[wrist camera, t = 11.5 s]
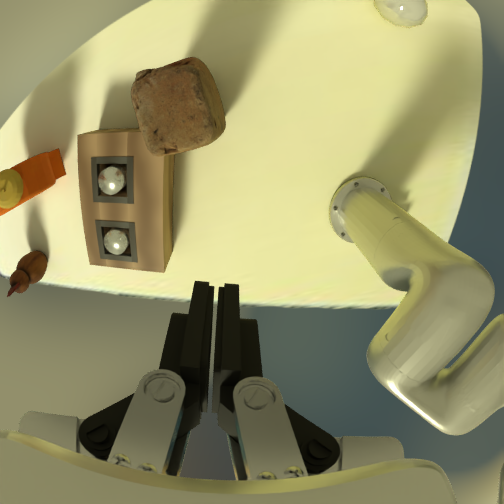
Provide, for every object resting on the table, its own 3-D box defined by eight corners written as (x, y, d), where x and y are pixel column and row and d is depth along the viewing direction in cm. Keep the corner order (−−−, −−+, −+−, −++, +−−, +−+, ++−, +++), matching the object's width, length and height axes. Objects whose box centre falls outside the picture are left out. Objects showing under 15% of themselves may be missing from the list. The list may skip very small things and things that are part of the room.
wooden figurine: (46, 246, 46) (9, 286, 33) (54, 269, 49) (21, 311, 36) (27, 247, 46) (-9, 284, 33) (35, 268, 49) (2, 307, 36)
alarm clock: (29, 195, 40) (-34, 240, 23) (21, 168, 37) (-47, 205, 20) (73, 174, 40) (2, 219, 22) (64, 144, 37) (-13, 175, 19)
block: (229, 131, 39) (223, 147, 22) (182, 143, 39) (141, 170, 22) (214, 67, 34) (195, 32, 16) (167, 80, 34) (113, 62, 17)
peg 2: (138, 215, 44) (124, 232, 38) (139, 236, 46) (127, 255, 40) (118, 214, 44) (102, 231, 38) (120, 234, 46) (105, 253, 40)
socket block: (176, 128, 38) (165, 132, 32) (172, 251, 49) (164, 273, 43) (98, 129, 37) (77, 135, 30) (104, 245, 47) (89, 264, 41)
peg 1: (138, 158, 39) (121, 168, 33) (138, 182, 41) (122, 195, 35) (116, 158, 39) (97, 168, 33) (116, 181, 41) (99, 194, 35)
